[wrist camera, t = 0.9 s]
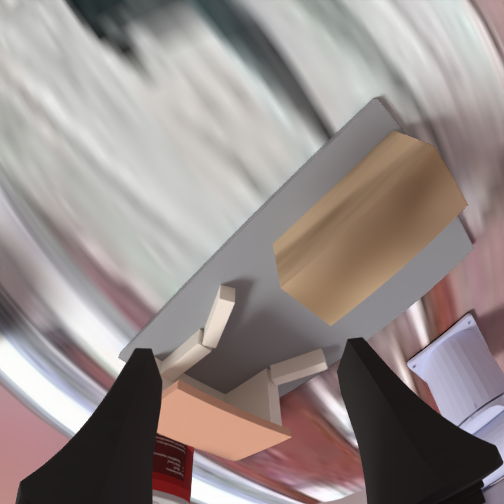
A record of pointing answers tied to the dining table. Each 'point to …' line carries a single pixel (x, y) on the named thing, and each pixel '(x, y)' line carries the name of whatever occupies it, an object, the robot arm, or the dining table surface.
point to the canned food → (171, 471)
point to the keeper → (272, 313)
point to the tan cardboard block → (367, 226)
